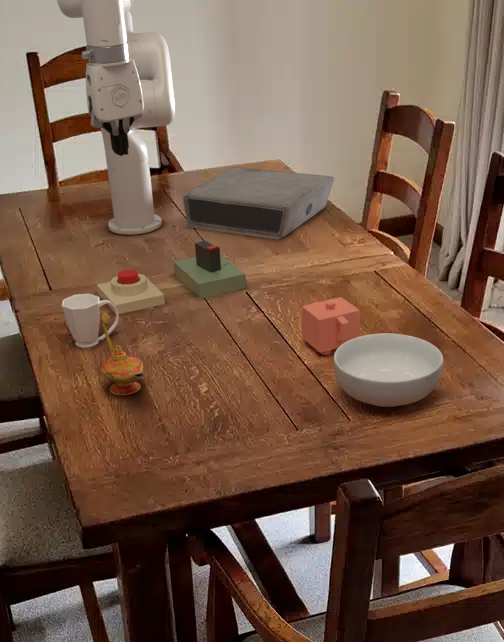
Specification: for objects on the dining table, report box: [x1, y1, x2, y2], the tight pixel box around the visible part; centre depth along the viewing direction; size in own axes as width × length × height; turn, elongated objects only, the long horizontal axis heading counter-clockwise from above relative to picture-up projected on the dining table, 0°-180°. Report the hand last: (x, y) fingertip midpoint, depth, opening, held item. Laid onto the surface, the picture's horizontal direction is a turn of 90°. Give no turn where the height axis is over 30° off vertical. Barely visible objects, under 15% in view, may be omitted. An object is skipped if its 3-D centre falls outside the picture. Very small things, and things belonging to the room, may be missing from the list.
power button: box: [117, 269, 139, 284], centre depth 186 cm, size 4×4×2 cm
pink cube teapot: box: [301, 296, 361, 356], centre depth 165 cm, size 8×12×8 cm, turn 24°
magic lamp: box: [100, 312, 146, 396], centre depth 153 cm, size 7×18×11 cm, turn 25°
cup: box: [61, 293, 120, 348], centre depth 171 cm, size 7×10×8 cm
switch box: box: [96, 273, 166, 315], centre depth 187 cm, size 12×10×4 cm
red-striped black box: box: [194, 240, 221, 272], centre depth 191 cm, size 6×2×5 cm, turn 36°
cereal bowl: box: [333, 332, 444, 408], centre depth 149 cm, size 17×17×7 cm
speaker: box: [182, 166, 335, 241], centre depth 223 cm, size 24×8×30 cm
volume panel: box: [173, 253, 247, 299], centre depth 193 cm, size 14×10×3 cm
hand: (121, 153), depth 188 cm, fingers closed
